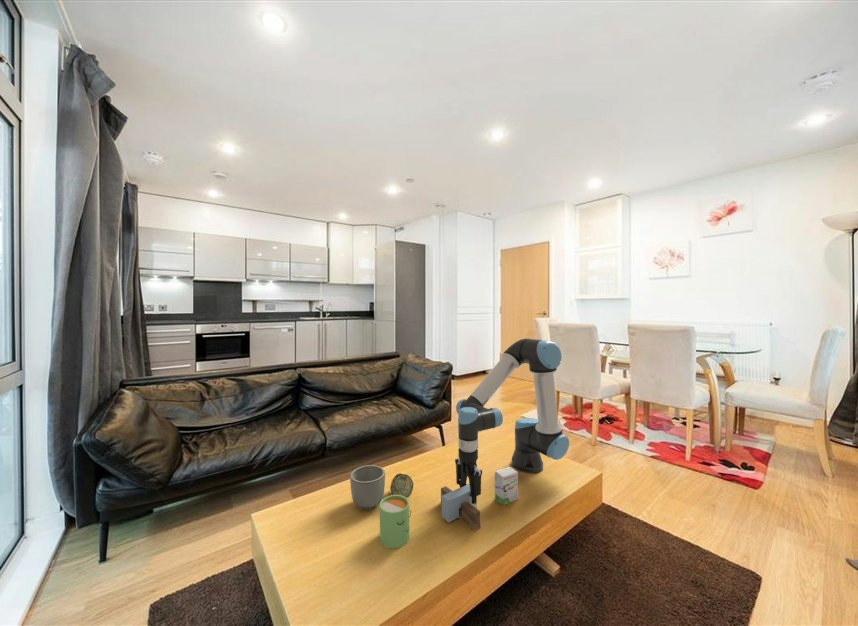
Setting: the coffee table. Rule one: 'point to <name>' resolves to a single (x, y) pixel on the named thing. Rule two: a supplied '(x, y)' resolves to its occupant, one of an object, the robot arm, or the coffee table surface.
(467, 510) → the walnut rail
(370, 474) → the planter
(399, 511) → the mug
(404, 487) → the seashell
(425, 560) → the coffee table surface
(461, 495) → the blue rectangular block
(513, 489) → the ink box
